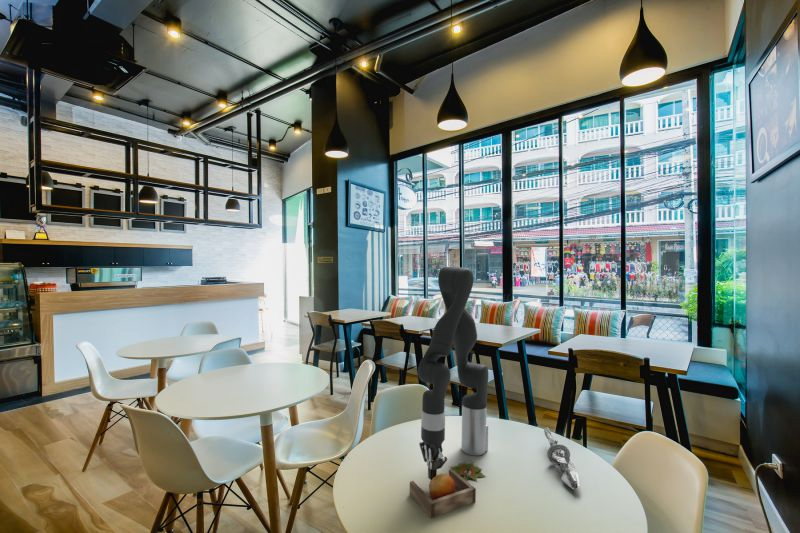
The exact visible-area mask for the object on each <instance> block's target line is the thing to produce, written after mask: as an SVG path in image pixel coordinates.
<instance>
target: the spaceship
mask: <svg viewBox="0 0 800 533" xmlns="http://www.w3.org/2000/svg"><path fill="white" fill-rule="evenodd" d="M543 431H544V436H545V437H546V439H547V440H548V442H549V443H548V444H549V448H548V450H547V453H546V454H547V455H546V456H547V458H548V461H549V462H550V463H552V464H553V465H554V467H555V468H557V471H558V472H559V474H560V473H561V474H560V476H561V475H562V476H561V479H560V480H562V482H564V484H566V485H567V486H568V487H570V488H571V489H572V490H573V491H577V489H578V488H580V474H579V472H577V471H576V470H577V468H576V466H575V465H574V463H572V462H571V458H570V457H571V451H570V449H569V448H568V447H567V446H566V445H564V444H561V443H558V442H559V441H558V440H557V439H554V438H553V435H552V432H551V430H550V428H549V427H547V426H545V427H544V429H543ZM562 451H563V452H562ZM555 464H556V465H555ZM558 464H560V465H558ZM569 466H570V467H572V468H574V469H575V470H572V468H569Z"/></svg>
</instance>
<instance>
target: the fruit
mask: <svg viewBox="0 0 800 533" xmlns="http://www.w3.org/2000/svg"><path fill="white" fill-rule="evenodd" d="M453 493H456V488H455V483H454V480H453V479H452V478H451V476H449V474H447V473H439V474H437V476H435V477H434V478H433V479H432V480H430V482H429V497H430V498H431V499H432V500H435V499H438V498H441V497H444V496H447V495H450V494H453Z"/></svg>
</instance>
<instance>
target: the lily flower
mask: <svg viewBox="0 0 800 533" xmlns="http://www.w3.org/2000/svg"><path fill="white" fill-rule="evenodd" d="M472 461H473V460H472V459H471V460H469V462H468V460H467V459H466V458H465V459H464V460H463V461H462V462H461V463H458V465H454V466H450V468H451V469H453V470H454V471H455V472H456V473H457V474H459V475H460V476H461V477H462V478H464V479H465V480H466V481H467V480H469V479H472V480H474V482H478V481H477V479H478V478H479V477H484V478H486V477H487V476H486V475H485V474H483V473H482V472H481V470H482V468H480V467H478V466H477V465H475V462H474V461H473V462H472ZM468 473H469V474H468Z"/></svg>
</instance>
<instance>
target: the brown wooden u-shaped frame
mask: <svg viewBox="0 0 800 533" xmlns="http://www.w3.org/2000/svg"><path fill="white" fill-rule="evenodd" d="M448 475H449V476H451V478H452V479H453V480H454V483H455V490H457V491H455V493H453V494H450V495H447V496H444V497H441V498H438V499H435V500H434V499H432V498H431V497H430V495H429V494H427V493H425V491H424V490H423V489H422V488H421V487H420V486H419V485H418V484H417V483H416V482H415V480H411V481H409V496H410V497H411V498H412V499H413V500H414V501H415V502H416V504H418V506H419V508H421V509H422V510H423V511H424V513H425V514H426V515H428V517H429V518H430V519H433V518H437V517H438V516H440V515H444V514H447V513H450V512H452V511H454V510H458V509H460V508H463V507H465V506H468V505H470V504H473V503H476V502H477V501H476V498H477V497H476V496H477V495H476V494H477V492H476V491H477V490H476V487H475V486H473V485H472V484H471V483H470V482H468V481H467V480H465V479H464V478H462V477H461V476H460V474H457V473H456V472H455V470H454V469H452V468H451V469H448Z"/></svg>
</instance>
